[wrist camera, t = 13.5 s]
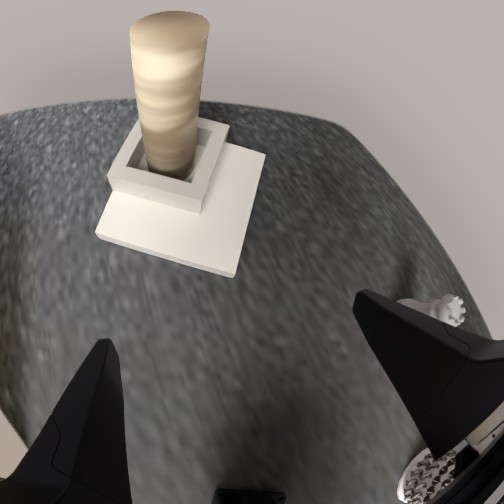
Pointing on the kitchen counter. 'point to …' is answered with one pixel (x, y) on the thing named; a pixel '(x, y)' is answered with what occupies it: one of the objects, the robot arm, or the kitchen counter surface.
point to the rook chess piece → (440, 308)
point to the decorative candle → (426, 477)
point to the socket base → (184, 202)
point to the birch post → (169, 87)
